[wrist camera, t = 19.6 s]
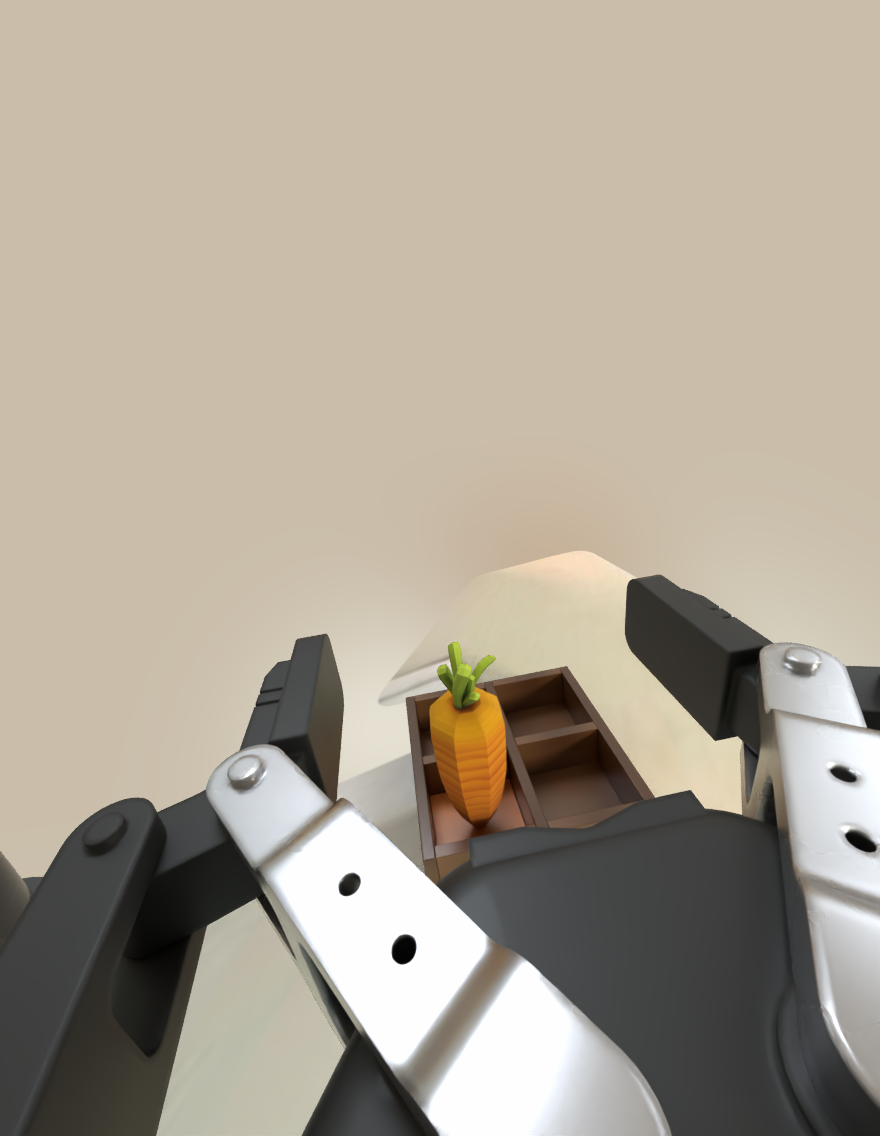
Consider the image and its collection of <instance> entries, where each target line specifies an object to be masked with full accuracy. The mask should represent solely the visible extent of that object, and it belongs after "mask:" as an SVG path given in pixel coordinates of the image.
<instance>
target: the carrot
mask: <svg viewBox="0 0 880 1136" xmlns="http://www.w3.org/2000/svg"><path fill="white" fill-rule="evenodd" d="M448 652H449V657H450V662H451V667H452V672H453V675H452V673H451V671H450V670H449V668H448V667H447V665H446V664H445V665H441V666H440V667H438V670H437V672H438V676H439V678H440V680H441V681H442V682H443V684H444V685H445V686H446V687H447V689H448V691H447V692H446V693H444V694H443V695H442V696H441V697H440V698H439V699H438V700H436V701H435V702H434V703H433V704H432V705H431V706H430V710H429V713H430V728H431V739H432V743H433V748H434V753H435V758H436V762H437V766H438V770H439V774H440V778H441V781H442V783H443V785H444V788H445V790H446V793H447V795H448V797H449V799H450V801H451V803H452V805H453V807H454V808H455V809H456V811H457V812H458V813H459V814H460V815H461V817H462V818H464V819H465V820H466V821H467V822H469V823H470V824H471V825H472V826H474V827H475V828H477V829H482V828H485V826H486V825H487V824H488V822H489V821H490V819H491V818H492V817H493V815H494V814H495V812H496V810H497V808H498V806H499V804H500V802H501V799H502V794H503V789H504V784H505V777H506V736H505V724H504V719H503V716H502V712H501V708H500V705H499V701H498V699H497V697H496V696H495V695H493V694H490V693H488V692H486V691H484V690H481V689H479V688H477V687H475V686H476V683H477V680H478V679H479V677H480V676H481V674H482V673H483V671H484V670H485V669H486V668H487V667H488V666H489V665H490V664H491V663H492V662H493V661H494V660H496V658H495V657H494V656H492V655H488V656H487V657H485V658H483V659H482V660H481V661H480V662H479V663H478V664H477V666H476V668H475V669H474V671H473V673H472V675H470V674H471V670H472V667H471V666H469V665H468V664H463V663H462V654H461V648H460V644H459V642H453V643H451V644H450V645H448Z"/></svg>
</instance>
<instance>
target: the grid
mask: <svg viewBox="0 0 880 1136" xmlns="http://www.w3.org/2000/svg"><path fill="white" fill-rule="evenodd" d="M475 687H477V688H479V689H481V690H484V691H486V692H488V693H490V694H493V695H495V696H496V697H497V699H498V701H499V705H500V708H501V712H502V716H503V719H504V724H505V736H506V777H505V784H504V789H503V794H502V799H501V802H500V804H499V806H498V808H497V810H496V812H495V814H494V815H493V817H492V818H491V819H490V821H489V822H488V824H487V825H486V826H485V828H482V829H477V828H475V827H474V826H472V825H471V824H470V823H469V822H467V821H466V820H465V819H464V818H462V817H461V815H460V814H459V813H458V812H457V811H456V809H455V808H454V807H453V805H452V803H451V801H450V799H449V797H448V795H447V793H446V790H445V788H444V785H443V783H442V781H441V778H440V774H439V770H438V766H437V762H436V758H435V753H434V748H433V743H432V739H431V728H430V713H429V710H430V706H431V705H432V704H433V703H434V702H435V701H436V700H438V699H439V698H440V697H441V696H442V695H443V694H444V693H446V692H447V691H448V690H443V691H438V692H432V693H427V694H422V695H417V696H412V697H407V698H406V706H407V715H408V725H409V734H410V744H411V753H412V763H413V772H414V781H415V791H416V800H417V810H418V819H419V828H420V838H421V847H422V857H423V863H424V868H425V872H426V876H427V877H428V878H429V879H430V880H431V881H432V882H433V883H434V884H435V885H436V884H437V883H438V882H439V881H440V880H441V879H442V878H443V877H444V876H445V875H447V874H448V873H449V872H451V871H452V870H453V869H455V868H456V867H458V866H459V865H461V864H462V863H464V862H466V861H468V860H470V856H469V849H468V842H467V839H471V838H475V837H480V836H484V835H489V834H493V833H498V832H502V831H507V830H511V829H516V828H520V827H548V828H589V827H591V826H594V825H596V824H597V823H599V822H601V821H603V820H605V819H607V818H608V817H610V816H612V815H614V814H616V813H618V812H619V811H621V810H623V809H625V808H627V807H629V806H630V805H632V804H634V803H636V802H638V801H643V800H648V799H652V798H655V797H654V795H653V794H652V792H651V791H650V789H649V788H648V786H647V785H646V783H645V782H644V780H643V779H642V777H641V776H640V774H639V773H638V771H637V770H636V768H635V767H634V766H633V764H632V763H631V761H630V760H629V758H628V757H627V755H626V754H625V752H624V751H623V749H622V748H621V746H620V745H619V743H618V742H617V740H616V739H615V737H614V736H613V734H612V733H611V731H610V730H609V728H608V727H607V725H606V724H605V722H604V721H603V719H602V718H601V716H600V715H599V713H598V712H597V710H596V709H595V707H594V706H593V704H592V703H591V701H590V700H589V699H588V697H587V696H586V694H585V693H584V691H583V690H582V688H581V687H580V685H579V684H578V682H577V681H576V679H575V678H574V676H573V675H572V673H571V672H570V670H569V669H568V667H567V666H565V667H560V668H555V669H550V670H545V671H540V672H535V673H530V674H525V675H520V676H514V677H509V678H504V679H499V680H494V681H489V682H484V683H479V684H476V686H475Z"/></svg>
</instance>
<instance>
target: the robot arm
mask: <svg viewBox="0 0 880 1136" xmlns="http://www.w3.org/2000/svg"><path fill="white" fill-rule="evenodd" d="M625 636H626V640H627V643H628V646H629V648H630V650H631V651H632V652H633V654H634V655H635V656H636V657H637V658H638V659H639V660H640V661H641V662H642V663H643V664H644V665H645V667H646V668H647V669H648V670H649V671H650V672H651V673H652V674H653V675H654V676H655V677H656V678H657V679H658V680H659V681H660V683H661V684H662V685H663V686H664V687H665V688H666V689H667V690H668V691H669V692H670V693H671V694H672V695H673V696H674V697H675V699H676V700H677V701H678V702H679V703H680V704H681V705H682V706H683V707H684V708H685V709H686V710H687V711H688V712H689V714H690V715H691V716H692V717H693V718H694V719H695V720H696V721H697V722H698V723H699V724H700V725H701V726H702V727H703V728H704V730H705V731H706V732H707V733H708V734H709V735H710V736H711V737H712V738H713V739H714V740H715V741H717V740H722V739H727V738H731V737H736V736H738V737H739V738H740V739H741V740H742V746H741V751H740V764H741V792H742V815H740V814H736V813H731V812H727V811H721V810H713V809H705V808H704V807H703V806H702V804H701V803H700V802H699V800H698V799H697V798H696V797H695V795H694V794H693V793H692V791H691V790H688V791H684V792H679V793H675V794H670V795H666V796H661V797H657V798H652V799H648V800H643V801H638V802H636V803H634V804H632V805H630V806H629V807H627V808H625V809H623V810H621V811H619V812H618V813H616V814H614V815H612V816H610V817H608V818H607V819H605V820H603V821H601V822H599V823H597V824H596V825H594V826H591V827H589V828H548V827H520V828H516V829H511V830H507V831H502V832H498V833H493V834H489V835H484V836H480V837H475V838H471V839H467V842H468V849H469V856H470V860H468V861H466V862H464V863H462V864H461V865H459V866H458V867H456V868H455V869H453V870H452V871H451V872H449V873H448V874H447V875H445V876H444V877H443V878H442V879H441V880H440V881H439V882H438V883H437V884H436V885H435V884H434V883H433V882H432V881H431V880H430V879H429V878H428V877H427V876H426V875H425V874H424V873H423V872H421V871H420V870H419V869H418V868H417V867H416V866H415V865H414V864H413V863H412V862H411V861H410V860H409V859H408V858H407V857H406V856H405V855H404V854H403V853H402V852H401V851H400V850H399V849H398V848H397V847H396V846H395V845H394V844H393V843H392V842H391V841H390V840H389V839H388V838H387V837H386V836H385V835H384V834H383V833H382V832H380V831H379V830H378V829H377V828H376V827H375V826H374V825H373V824H372V823H371V822H370V821H369V820H368V819H367V818H366V817H365V816H364V815H363V814H362V813H361V812H360V811H359V810H358V809H357V808H356V807H355V806H354V805H353V804H352V803H350V802H349V801H348V800H346V799H344V798H340V799H339V800H338V801H337V802H336V800H337V787H338V773H339V761H340V749H341V737H342V724H343V711H344V698H343V690H342V685H341V681H340V677H339V673H338V669H337V665H336V662H335V658H334V654H333V650H332V646H331V643H330V639H329V637H328V635H327V634H322V635H317V636H311V637H306V638H300V639H297V640H296V643H295V646H294V650H293V653H292V657H291V660H288V661H283V662H278V663H277V664H276V665H275V666H274V667H273V668H272V670H271V671H270V672H269V673H268V674H267V675H266V676H265V678H264V681H263V684H262V687H261V690H260V695H259V696H258V699H257V701H256V707H255V708H254V710H253V713H252V716H251V719H250V722H249V725H248V727H247V730H246V733H245V736H244V739H243V742H242V745H241V748H240V750H239V751H238V752H236V753H235V754H233V755H231V756H230V757H228V758H227V759H226V760H224V761H223V762H222V763H221V764H220V765H219V766H218V767H217V768H216V769H215V771H214V772H213V773H212V775H211V776H210V778H209V780H208V783H207V786H206V790H204V791H202V792H201V793H199V794H197V795H195V796H193V797H190V798H188V799H186V800H184V801H181V802H179V803H177V804H175V805H172V806H170V807H168V808H166V809H164V810H161V811H159V812H157V811H156V809H155V808H154V806H153V804H152V803H151V802H150V801H149V800H147V799H144V798H129V799H124V800H121V801H118V802H116V803H113V804H111V805H109V806H107V807H105V808H103V809H101V810H99V811H98V812H96V813H94V814H93V815H92V816H90V817H89V818H88V819H86V820H85V821H84V822H83V823H81V824H80V825H79V826H78V827H77V828H76V829H75V830H74V831H73V832H72V833H71V834H70V836H69V837H68V838H67V839H66V841H65V842H64V844H63V845H62V847H61V848H60V850H59V852H58V853H57V855H56V857H55V858H54V860H53V862H52V864H51V865H50V867H49V869H48V870H47V872H46V874H45V875H44V877H43V879H42V880H41V882H40V884H39V885H38V887H37V889H36V890H35V892H33V891H32V890H30V888H29V887H28V886H27V885H26V883H25V882H24V881H23V880H22V878H21V877H20V876H19V875H18V873H17V872H16V870H15V869H14V868H13V866H12V865H11V864H10V863H9V861H8V860H7V859H6V858H5V856H4V855H3V854H2V852H0V1136H156V1134H157V1130H158V1126H159V1121H160V1117H161V1113H162V1109H163V1105H164V1101H165V1097H166V1092H167V1088H168V1084H169V1080H170V1076H171V1072H172V1068H173V1064H174V1059H175V1055H176V1051H177V1047H178V1043H179V1039H180V1035H181V1031H182V1026H183V1022H184V1018H185V1014H186V1010H187V1006H188V1002H189V998H190V993H191V989H192V985H193V981H194V977H195V973H196V969H197V964H198V960H199V956H200V952H201V948H202V944H203V940H204V936H205V931H206V927H207V925H209V924H210V923H212V922H214V921H216V920H218V919H220V918H221V917H223V916H225V915H227V914H229V913H230V912H232V911H234V910H236V909H238V908H239V907H241V906H243V905H245V904H247V903H248V902H250V901H252V900H254V899H256V901H257V902H258V904H259V905H260V907H261V909H262V910H263V912H264V914H265V915H266V917H267V918H268V920H269V922H270V923H271V925H272V927H273V928H274V930H275V932H276V933H277V935H278V936H279V938H280V940H281V941H282V943H283V945H284V946H285V948H286V949H287V951H288V953H289V954H290V956H291V958H292V959H293V961H294V963H295V964H296V966H297V967H298V969H299V971H300V972H301V974H302V976H303V978H304V979H305V981H306V983H307V985H308V986H309V988H310V990H311V992H312V994H313V996H314V998H315V1000H316V1001H317V1003H318V1005H319V1007H320V1009H321V1010H322V1012H323V1014H324V1016H325V1017H326V1019H327V1021H328V1023H329V1024H330V1026H331V1028H332V1029H333V1031H334V1033H335V1034H336V1036H337V1037H338V1039H339V1041H340V1042H341V1044H342V1046H343V1047H344V1049H345V1051H344V1053H343V1055H342V1057H341V1059H340V1061H339V1063H338V1065H337V1067H336V1069H335V1071H334V1073H333V1075H332V1077H331V1079H330V1080H329V1082H328V1084H327V1086H326V1088H325V1090H324V1092H323V1094H322V1096H321V1098H320V1100H319V1102H318V1104H317V1106H316V1108H315V1110H314V1112H313V1114H312V1116H311V1118H310V1120H309V1122H308V1124H307V1126H306V1128H305V1130H304V1132H303V1134H302V1136H880V667H863V666H844V664H843V663H842V662H841V661H840V660H838V659H837V658H836V657H834V656H832V655H831V654H829V653H827V652H825V651H823V650H820V649H817V648H814V647H811V646H807V645H802V644H797V643H772V642H771V641H769V640H768V639H767V638H765V637H763V636H762V635H761V634H759V633H758V632H756V631H755V630H753V629H752V628H750V627H749V626H747V625H746V624H744V623H743V622H741V621H740V620H738V619H737V618H735V617H731V614H729V613H728V612H726V611H725V610H723V609H719V606H717V605H716V604H714V603H713V602H711V601H710V600H708V599H707V598H706V597H704V596H702V595H699V594H696V593H693V592H691V591H688V590H685V589H681V588H679V587H678V586H676V585H675V584H674V583H672V582H671V581H669V580H668V579H666V578H665V577H663V576H662V575H654V576H649V577H643V578H637V579H632V580H630V581H629V583H628V586H627V597H626V617H625Z"/></svg>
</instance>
